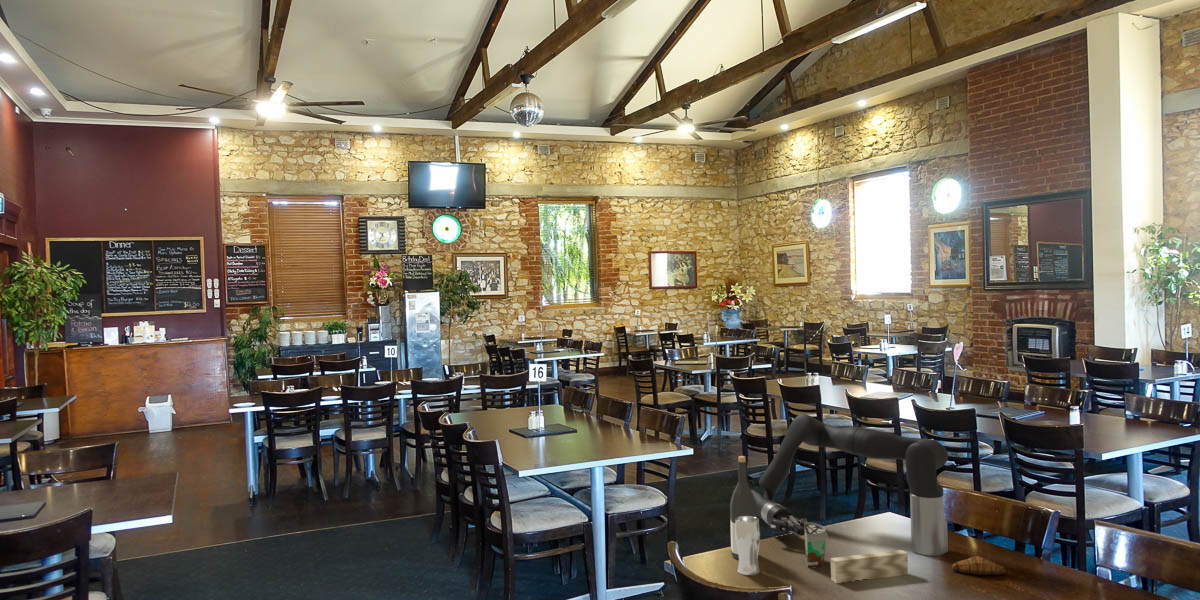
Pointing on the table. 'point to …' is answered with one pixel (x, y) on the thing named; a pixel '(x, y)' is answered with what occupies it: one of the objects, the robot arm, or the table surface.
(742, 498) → the wine bottle
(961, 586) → the table surface
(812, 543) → the food container
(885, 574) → the maple board
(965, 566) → the croissant
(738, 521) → the beer glass
